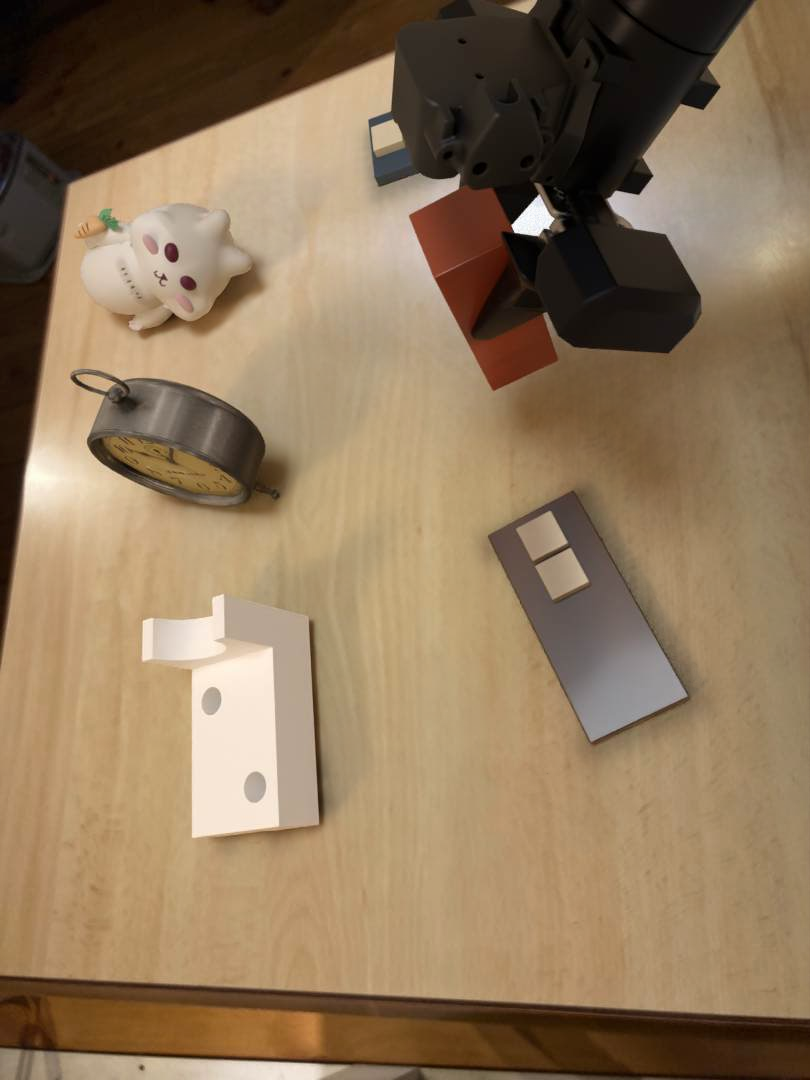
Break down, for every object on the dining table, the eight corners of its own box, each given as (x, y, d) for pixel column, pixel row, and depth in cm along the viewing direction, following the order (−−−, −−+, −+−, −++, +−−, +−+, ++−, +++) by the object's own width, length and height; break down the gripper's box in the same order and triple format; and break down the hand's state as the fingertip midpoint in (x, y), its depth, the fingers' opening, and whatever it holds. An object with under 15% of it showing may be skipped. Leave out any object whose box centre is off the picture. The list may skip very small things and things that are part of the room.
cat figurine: (23, 244, 63) (180, 188, 56) (81, 204, 68) (229, 149, 62) (95, 355, 68) (245, 315, 62) (142, 309, 74) (285, 269, 67)
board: (575, 495, 52) (571, 484, 51) (690, 699, 46) (689, 694, 45) (490, 540, 53) (483, 531, 52) (592, 745, 47) (588, 742, 46)
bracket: (230, 639, 58) (142, 620, 52) (308, 616, 55) (223, 593, 49) (234, 835, 54) (138, 840, 48) (319, 824, 50) (227, 828, 44)
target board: (556, 61, 63) (552, 41, 62) (569, 121, 61) (565, 101, 60) (372, 128, 68) (364, 111, 66) (378, 186, 65) (370, 170, 64)
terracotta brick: (533, 306, 48) (486, 173, 38) (559, 361, 46) (516, 236, 37) (470, 337, 49) (407, 214, 39) (492, 392, 47) (433, 278, 37)
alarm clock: (160, 504, 63) (-5, 407, 48) (181, 438, 64) (26, 324, 50) (286, 520, 59) (146, 419, 44) (305, 449, 60) (175, 329, 46)
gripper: (394, -207, 31) (275, 155, 43) (585, 137, 23) (375, 458, 35) (620, -110, 36) (458, 186, 48) (835, 193, 29) (579, 454, 41)
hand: (465, 304), depth 43 cm, fingers closed on terracotta brick, 4 cm apart
